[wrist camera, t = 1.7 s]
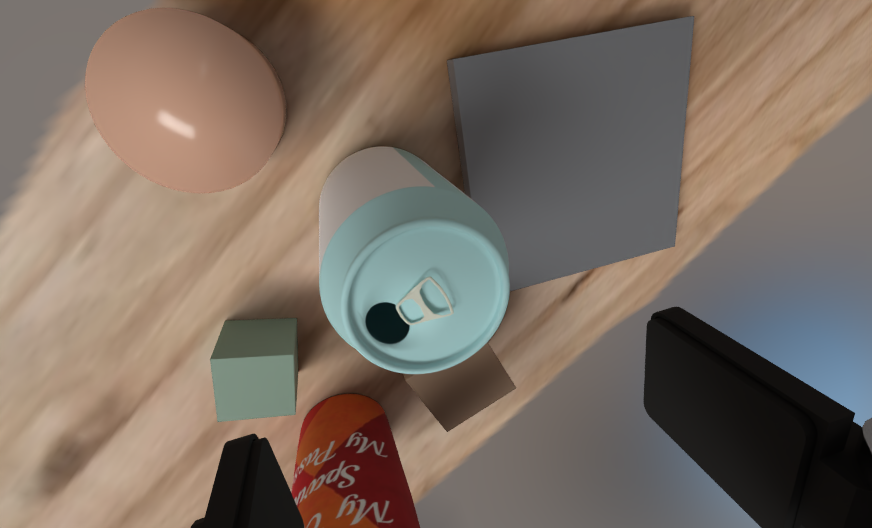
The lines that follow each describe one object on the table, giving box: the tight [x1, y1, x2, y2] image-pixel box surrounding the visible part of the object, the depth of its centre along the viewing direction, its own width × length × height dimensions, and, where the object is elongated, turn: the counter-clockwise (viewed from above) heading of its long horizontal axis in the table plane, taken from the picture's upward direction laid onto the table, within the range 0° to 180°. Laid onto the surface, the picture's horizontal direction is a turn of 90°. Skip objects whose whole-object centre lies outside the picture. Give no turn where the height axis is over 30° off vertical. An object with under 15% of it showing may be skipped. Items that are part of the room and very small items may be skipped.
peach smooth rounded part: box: [85, 8, 287, 193], centre depth 19 cm, size 7×7×4 cm
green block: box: [210, 318, 298, 422], centre depth 25 cm, size 4×4×4 cm
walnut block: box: [403, 342, 516, 432], centre depth 27 cm, size 5×5×5 cm
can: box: [319, 147, 510, 374], centre depth 20 cm, size 7×7×12 cm
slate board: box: [447, 16, 694, 291], centre depth 26 cm, size 14×14×1 cm
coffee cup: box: [291, 394, 420, 528], centre depth 24 cm, size 8×8×15 cm
